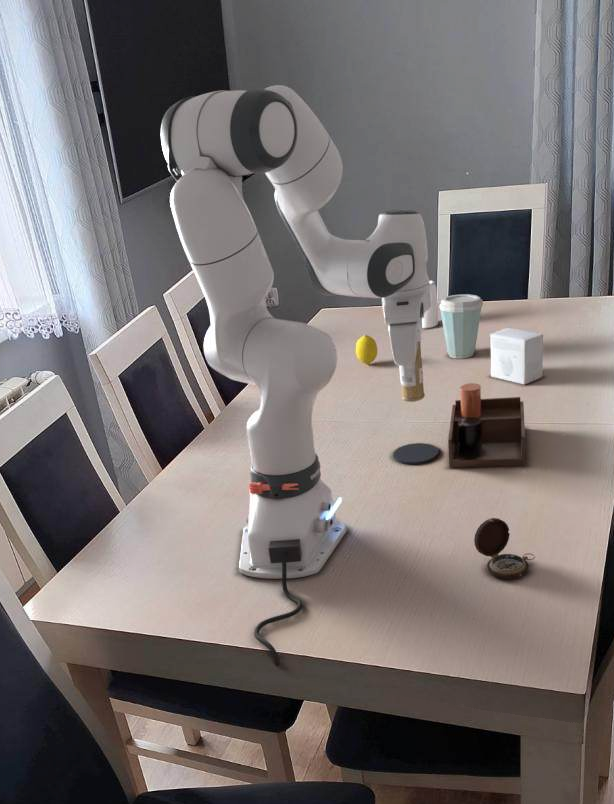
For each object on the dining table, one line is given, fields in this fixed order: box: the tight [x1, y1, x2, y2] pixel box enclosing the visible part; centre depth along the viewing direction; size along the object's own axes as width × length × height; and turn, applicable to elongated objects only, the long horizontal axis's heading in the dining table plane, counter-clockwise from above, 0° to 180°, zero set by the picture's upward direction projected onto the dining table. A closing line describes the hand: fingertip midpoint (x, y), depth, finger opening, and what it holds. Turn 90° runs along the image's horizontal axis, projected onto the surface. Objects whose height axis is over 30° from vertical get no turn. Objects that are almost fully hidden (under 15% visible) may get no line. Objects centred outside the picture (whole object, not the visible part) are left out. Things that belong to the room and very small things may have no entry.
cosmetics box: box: [489, 327, 544, 385], centre depth 202 cm, size 10×6×10 cm, turn 34°
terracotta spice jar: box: [459, 382, 482, 418], centre depth 176 cm, size 4×4×6 cm
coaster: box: [392, 442, 439, 465], centre depth 176 cm, size 9×9×1 cm
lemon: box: [355, 334, 378, 366], centre depth 226 cm, size 6×6×8 cm
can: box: [422, 280, 439, 330], centre depth 246 cm, size 6×6×12 cm
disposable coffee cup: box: [438, 293, 484, 360], centre depth 219 cm, size 11×11×15 cm
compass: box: [473, 517, 536, 580], centre depth 135 cm, size 8×8×7 cm
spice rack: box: [447, 396, 526, 469], centre depth 173 cm, size 18×14×7 cm
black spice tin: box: [458, 417, 483, 459], centre depth 171 cm, size 4×4×7 cm
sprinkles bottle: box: [399, 330, 426, 403], centre depth 167 cm, size 5×5×13 cm
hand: (410, 371), depth 168 cm, fingers closed on sprinkles bottle, 4 cm apart
